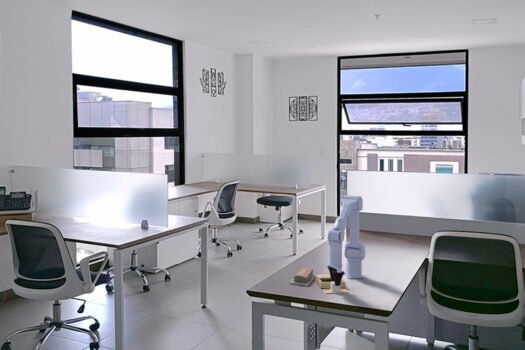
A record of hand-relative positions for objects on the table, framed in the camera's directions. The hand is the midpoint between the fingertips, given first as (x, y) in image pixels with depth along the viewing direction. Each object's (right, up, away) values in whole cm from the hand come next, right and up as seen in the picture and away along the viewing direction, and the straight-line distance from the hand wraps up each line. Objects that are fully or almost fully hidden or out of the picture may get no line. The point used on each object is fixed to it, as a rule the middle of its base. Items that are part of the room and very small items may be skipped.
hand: (335, 283), depth 239 cm
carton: (-1, -3, +11) cm, 11 cm away
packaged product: (-14, -3, +19) cm, 23 cm away
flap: (0, -4, 0) cm, 4 cm away
